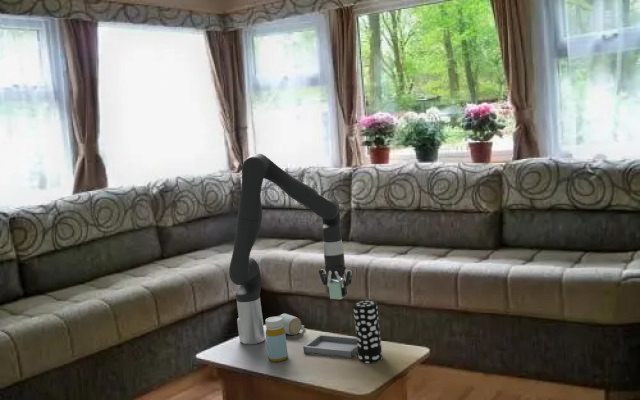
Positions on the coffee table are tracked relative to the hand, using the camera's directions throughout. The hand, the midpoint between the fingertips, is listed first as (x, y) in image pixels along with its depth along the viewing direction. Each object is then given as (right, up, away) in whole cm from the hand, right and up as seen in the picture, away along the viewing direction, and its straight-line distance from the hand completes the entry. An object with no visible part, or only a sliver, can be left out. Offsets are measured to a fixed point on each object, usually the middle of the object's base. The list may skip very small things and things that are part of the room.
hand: (338, 295), depth 247 cm
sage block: (0, -1, 0) cm, 1 cm away
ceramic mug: (-18, -17, +17) cm, 30 cm away
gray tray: (-1, -19, -7) cm, 20 cm away
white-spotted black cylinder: (+11, -19, -19) cm, 29 cm away
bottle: (-22, -22, -10) cm, 32 cm away
